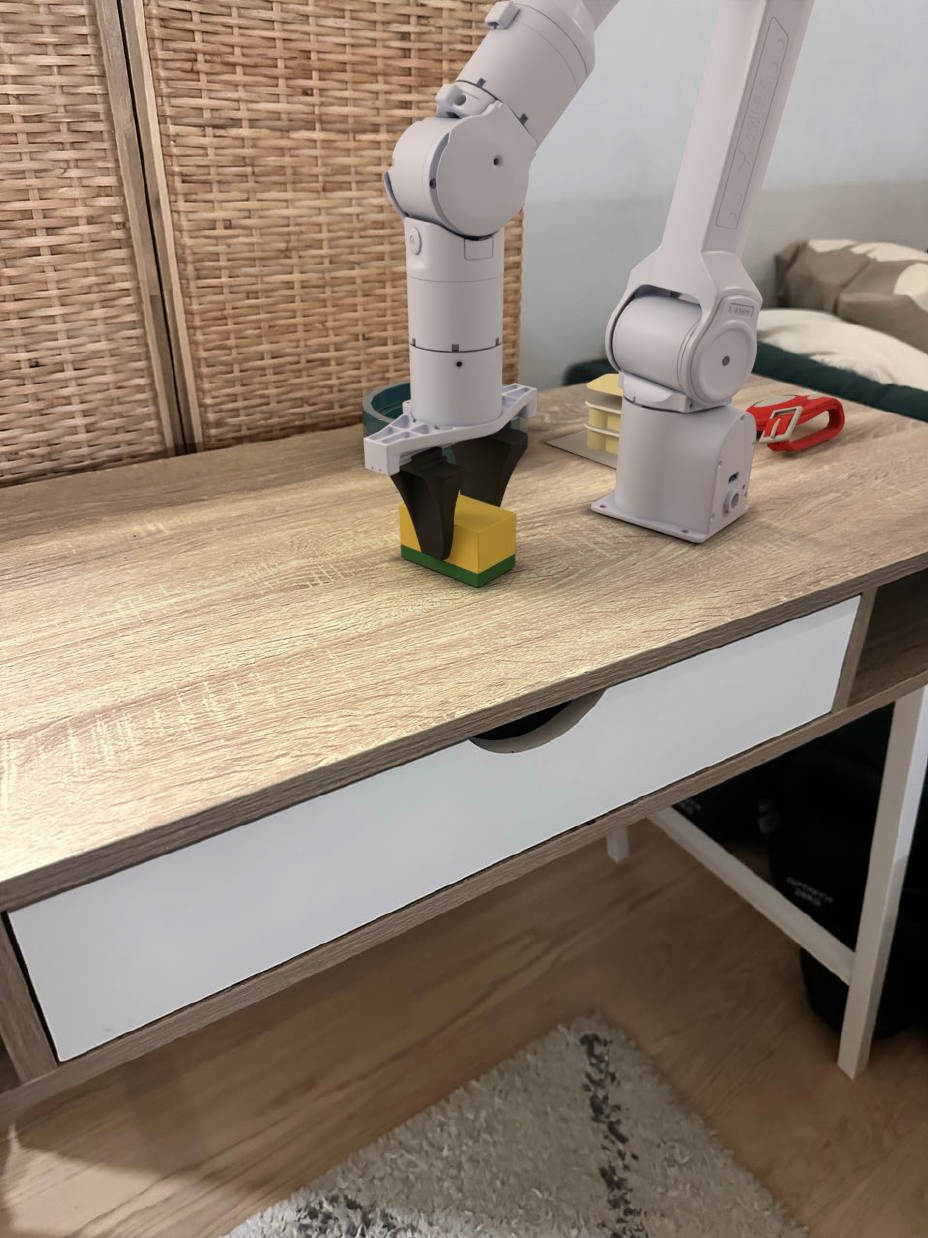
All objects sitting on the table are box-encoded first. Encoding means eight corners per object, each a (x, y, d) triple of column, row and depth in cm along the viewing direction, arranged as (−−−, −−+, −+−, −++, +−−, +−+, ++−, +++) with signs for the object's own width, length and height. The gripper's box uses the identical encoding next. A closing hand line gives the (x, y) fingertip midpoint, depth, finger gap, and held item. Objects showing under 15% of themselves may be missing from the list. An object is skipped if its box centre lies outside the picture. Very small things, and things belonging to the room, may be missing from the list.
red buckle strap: (713, 408, 90) (812, 378, 90) (722, 452, 92) (819, 423, 92) (765, 419, 79) (878, 385, 79) (774, 470, 80) (885, 436, 80)
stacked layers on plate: (695, 449, 84) (703, 388, 81) (628, 473, 79) (634, 409, 76) (611, 421, 90) (616, 364, 88) (545, 442, 85) (547, 382, 83)
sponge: (515, 566, 64) (517, 512, 62) (478, 588, 61) (478, 532, 59) (438, 538, 68) (437, 486, 66) (400, 557, 65) (398, 504, 63)
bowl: (559, 442, 86) (561, 397, 83) (454, 490, 76) (454, 440, 74) (439, 410, 94) (439, 368, 92) (331, 449, 84) (327, 403, 82)
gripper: (481, 310, 64) (480, 496, 71) (321, 353, 55) (338, 563, 61) (566, 326, 60) (556, 520, 67) (410, 375, 51) (418, 596, 57)
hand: (457, 543), depth 64 cm, fingers closed on sponge, 4 cm apart
